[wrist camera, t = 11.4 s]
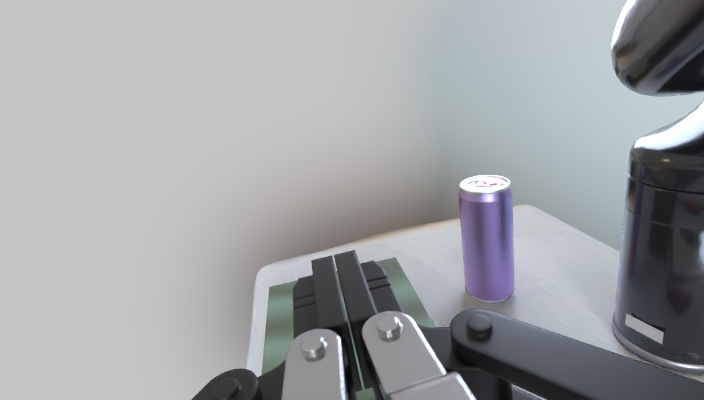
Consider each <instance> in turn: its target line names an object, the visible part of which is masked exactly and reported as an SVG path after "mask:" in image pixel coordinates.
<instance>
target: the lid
mask: <svg viewBox="0 0 704 400" xmlns="http://www.w3.org/2000/svg"><path fill="white" fill-rule="evenodd" d="M376 263H378V264H379V265H381V266H382V267H383V268H384V270H385V272H386V274H387V277H388V279H389V281H390V283H391V285H392V287H393V289H394V291H395V293H396V296H397V298H398V300H399V302H400V304H401V306H402V308H403V310H404V312H405V314H407V315H409V316H410V317H411V318H413V320H414V321H415V323H416V324H419V325H422V326H426V327H435V325H434V324H433V322H432V320H431V318H430V317H429V315H428V313H427V312H426V310H425V308H424V306H423V305H422V303H421V301H420V299H419V298H418V296H417V294H416V292H415V291H414V289H413V287H412V285H411V284H410V282H409V280H408V278H407V277H406V275H405V273H404V271H403V270H402V268H401V266H400V264H399V263H398V261H397V259H396V258H391V259H387V260H382V261H378V262H376ZM336 274H337V278H338V282H339V287H340V291H341V295H342V300H343V304H344V308H345V312H346V307H345V303H344V299H343V294H342V290H341V285H340V280H339V276H338V271H336ZM297 281H298V280H297ZM297 281H293V282H289V283H285V284H281V285H276V286H272V287H269V298H268V310H267V321H266V332H265V343H264V355H263V366H262V375H263V374H265V373H267V372H269V371H271V370H272V369H274V368H276V367H277V366H278V365H280V364H281V363H282V362H283V361H284V360H285V359H286V353H287V349H288V347H289V345H290V344H291V342H292V341H293V340H294V330H293V287H294V286H295V284H296V282H297ZM346 317H347V321H348V325H349V330H350V335H351V339H352V344H353V348H354V353H355V357H356V362H357V367H358V371H359V376H360V380H361V385H362V389H363V390H362V391H358V392H356V396H357V400H376V399H375V395H374V392H373V388H369V389H365V387H364V383H363V379H362V375H361V371H360V366H359V362H358V358H357V354H356V350H355V345H354V341H353V337H352V333H351V329H350V324H349V320H348V316H347V312H346Z"/></svg>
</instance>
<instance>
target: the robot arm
mask: <svg viewBox="0 0 704 400" xmlns="http://www.w3.org/2000/svg"><path fill="white" fill-rule="evenodd" d="M611 53H612V54H611V57H612V64H613V68H614V71H615V73H616V75H617V77H618V78H619V80H620V81H621V82H622V84H623V85H625V86H626V87H627V88H629V89H630V90H632V91H634V92H636V93H639V94H643V95H650V96H675V95H685V94H694V93H702V92H704V0H628V1H627V3H626V5H625V7H624V9H623V11H622V13H621V15H620V18H619V20H618V23H617V26H616V28H615V32H614V36H613V41H612V50H611ZM334 257H335V262H336V267H337V271H338V276H339V280H340V285H341V290H342V294H343V299H344V303H345V307H346V312H347V316H348V320H349V324H350V329H351V333H352V337H353V341H354V345H355V350H356V354H357V358H358V362H359V366H360V371H361V375H362V379H363V383H364V387H365V389H369V388H373V392H374V395H375V399H376V400H541V399H539V398H537V397H535V396H532V395H530V394H528V393H526V392H524V391H522V390H519V389H517V388H515V387H513V386H512V384H514V385H516V386H519V387H521V388H523V389H525V390H527V391H530V392H532V393H534V394H536V395H538V396H541V397H543V398H545V399H547V400H704V383H702V382H699V381H696V380H693V379H690V378H687V377H684V376H681V375H678V374H675V373H672V372H670V371H667V370H664V369H661V368H658V367H655V366H652V365H649V364H646V363H643V362H640V361H637V360H634V359H631V358H628V357H625V356H622V355H619V354H616V353H613V352H610V351H607V350H604V349H601V348H598V347H595V346H593V345H590V344H587V343H584V342H581V341H578V340H575V339H572V338H569V337H566V336H563V335H560V334H557V333H554V332H551V331H548V330H545V329H542V328H539V327H536V326H533V325H530V324H527V323H524V322H521V321H518V320H516V319H513V318H510V317H507V316H504V315H501V314H498V313H495V312H492V311H488V310H483V309H472V310H467V311H463V312H461V313H459V314H458V315H456V316H455V317H454V318H453V319H452V321H451V324H450V327H426V326H422V325H419V324H416V323H415V321H414V320H413V318H411V317H410V316H409V315H407V314H405V312H404V310H403V308H402V306H401V304H400V302H399V300H398V298H397V296H396V293H395V291H394V289H393V287H392V285H391V283H390V281H389V279H388V277H387V274H386V272H385V270H384V268H383V267H382V266H381V265H379V264H378V263H376V262H375V261H370V262H366V263H361V264H360V263H359V260H358V257H357V255H356V252H355V250H353V251H349V252H345V253H340V254H336V255H334ZM311 262H312V271H313V275H311V276H307V277H303V278H299V279H298V281H297V282H296V284H295V286H294V287H293V330H294V340H293V341H292V342H291V344H290V345H289V347H288V349H287V353H286V359H285V360H284V361H283V362H282V363H281V364H280V365H278V366H277V367H276V368H274V369H272V370H271V371H269V372H267V373H265V374H263V375H261V376H259V377H256V375H255V374H254V373H253V372H252V371H250V370H247V369H234V370H230V371H227V372H224V373H222V374H220V375H219V376H217V377H215V378H214V379H213V380H211V381H210V382H209V383H208V384H207V385H206V386H205V387H204V388H203V389H202V390H201V391H200V392H199V393H198V394H197V395H196V396H195V397H194V398H193V399H192V400H357V396H356V392H358V391H362V390H363V389H362V385H361V380H360V376H359V371H358V367H357V362H356V357H355V353H354V348H353V344H352V339H351V335H350V330H349V325H348V321H347V317H346V312H345V308H344V304H343V300H342V295H341V291H340V287H339V282H338V278H337V274H336V270H335V265H334V261H333V257H332V256H328V257H324V258H319V259H315V260H311ZM612 327H613V331H614V333H615V335H616V337H617V338H618V339H619V341H620V342H621V343H622V344H623V345H624V346H625V347H627V348H628V349H629V350H630V351H632V352H633V353H635V354H636V355H638V356H640V357H641V358H643V359H645V360H647V361H649V362H652V363H654V364H656V365H659V366H662V367H665V368H668V369H671V370H675V371H680V372H685V373H692V374H704V100H703V101H702V103H701V104H700V105H698V106H697V107H696V108H695V109H694V110H692V111H691V112H690V113H688V114H687V115H686V116H684V117H682V118H681V119H679V120H677V121H675V122H673V123H671V124H669V125H667V126H665V127H662V128H660V129H657V130H655V131H653V132H650V133H648V134H646V135H644V136H642V137H641V138H639V139H638V140H637V141H636V142H635V143H634V144H633V146H632V148H631V151H630V156H629V166H628V178H627V189H626V199H625V211H624V222H623V232H622V242H621V253H620V263H619V274H618V284H617V293H616V303H615V312H614V314H613V322H612Z"/></svg>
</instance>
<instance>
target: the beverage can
mask: <svg viewBox="0 0 704 400" xmlns="http://www.w3.org/2000/svg"><path fill="white" fill-rule="evenodd" d="M459 187H460V190H459V194H458V195H459V208H460V221H461V234H462V247H463V261H464V274H465V286H466V290H467V291H468V293H469V294H470V295H471V296H472V297H473V298H475V299H477V300H479V301H482V302H486V303H497V302H502V301H504V300H506V299H508V298H509V297H510V296H511V294H512V293H513V291H514V246H513V202H512V189H511V187H510V181H509V180H508V179H507V178H504V177H501V176H494V175H483V176H475V177H471V178H468V179H465V180H463V181H462V182H461V183H460V185H459Z"/></svg>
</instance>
